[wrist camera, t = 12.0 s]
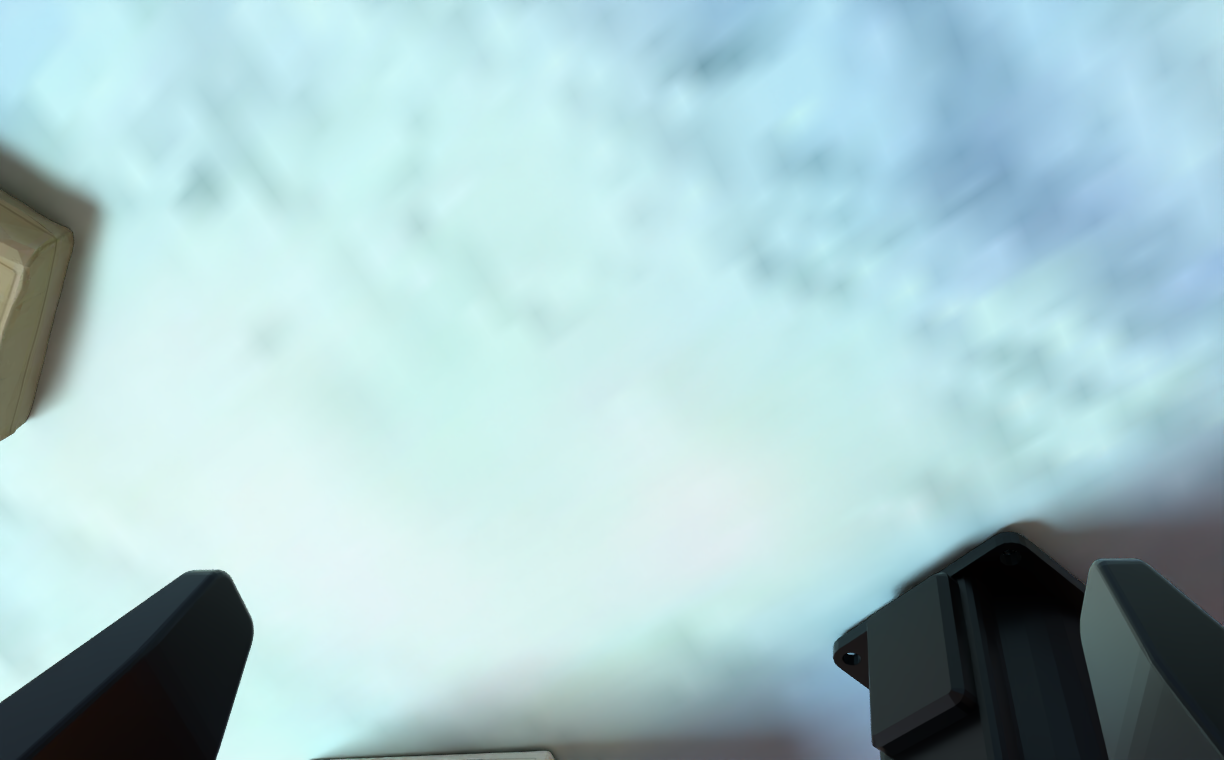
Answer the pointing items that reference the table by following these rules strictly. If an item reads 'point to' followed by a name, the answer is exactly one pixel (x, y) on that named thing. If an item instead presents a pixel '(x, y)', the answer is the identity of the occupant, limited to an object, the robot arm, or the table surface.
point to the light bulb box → (474, 756)
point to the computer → (26, 302)
